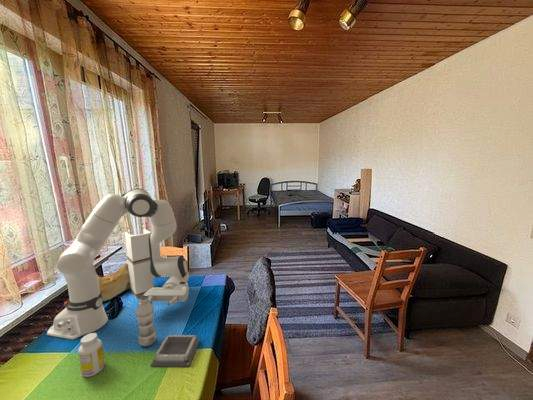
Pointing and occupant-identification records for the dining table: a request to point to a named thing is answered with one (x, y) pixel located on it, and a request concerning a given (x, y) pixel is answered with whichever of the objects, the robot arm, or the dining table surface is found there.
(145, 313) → the silver bottle
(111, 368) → the dining table surface
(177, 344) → the grey square tray
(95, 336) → the supplement bottle
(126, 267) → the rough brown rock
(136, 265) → the beige notched post
